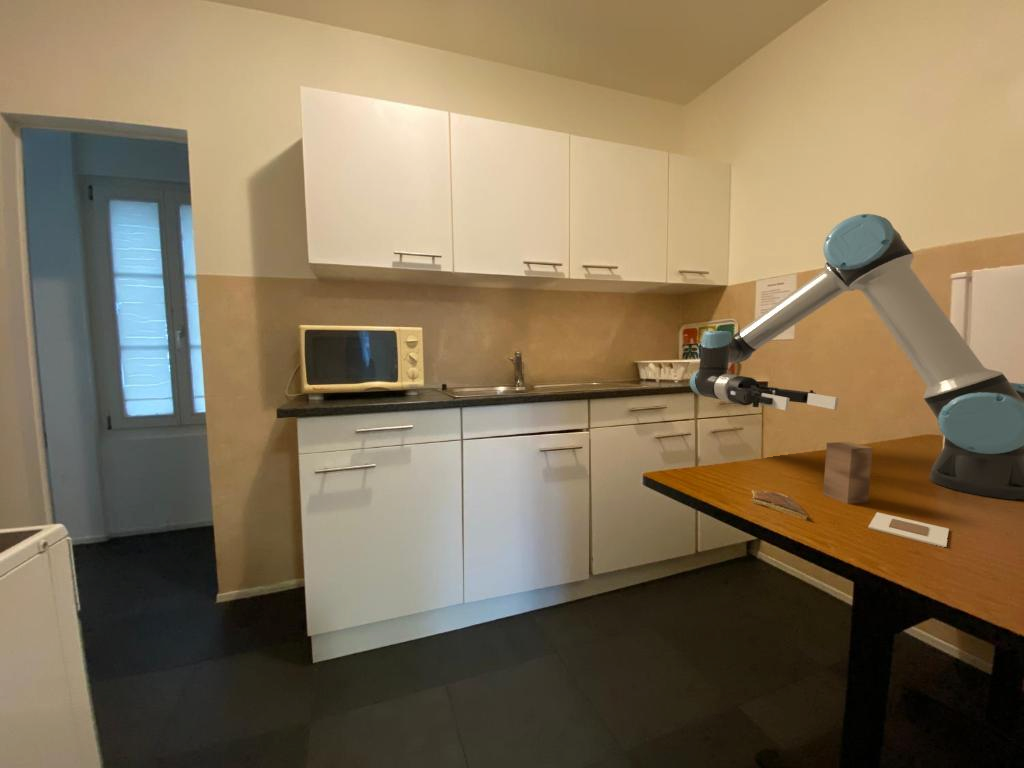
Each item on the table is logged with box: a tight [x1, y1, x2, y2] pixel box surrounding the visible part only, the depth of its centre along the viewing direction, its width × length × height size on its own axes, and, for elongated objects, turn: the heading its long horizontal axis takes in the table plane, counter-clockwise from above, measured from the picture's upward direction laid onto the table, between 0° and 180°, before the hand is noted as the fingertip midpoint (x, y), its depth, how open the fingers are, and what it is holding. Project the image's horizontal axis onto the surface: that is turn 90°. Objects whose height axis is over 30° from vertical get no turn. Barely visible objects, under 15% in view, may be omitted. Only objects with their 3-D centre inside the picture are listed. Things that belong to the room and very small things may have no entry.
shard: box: [750, 489, 810, 521], centre depth 77 cm, size 11×8×2 cm
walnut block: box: [822, 441, 873, 505], centre depth 81 cm, size 5×5×11 cm
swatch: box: [867, 511, 950, 548], centre depth 68 cm, size 9×9×1 cm
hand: (812, 403), depth 88 cm, fingers open, 13 cm apart
